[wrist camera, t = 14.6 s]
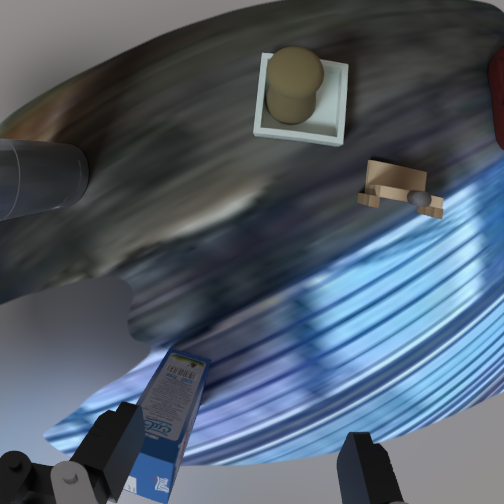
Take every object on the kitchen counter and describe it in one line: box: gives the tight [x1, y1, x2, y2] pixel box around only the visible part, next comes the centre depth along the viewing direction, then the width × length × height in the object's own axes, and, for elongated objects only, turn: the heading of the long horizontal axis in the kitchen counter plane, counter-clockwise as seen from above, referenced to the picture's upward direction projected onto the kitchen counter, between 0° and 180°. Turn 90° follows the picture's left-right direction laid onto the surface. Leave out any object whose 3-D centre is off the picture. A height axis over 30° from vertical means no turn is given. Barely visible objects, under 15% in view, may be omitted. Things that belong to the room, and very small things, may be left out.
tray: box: [253, 53, 348, 147], centre depth 33 cm, size 10×10×3 cm
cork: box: [265, 46, 324, 125], centre depth 28 cm, size 6×6×11 cm
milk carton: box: [123, 348, 211, 504], centre depth 35 cm, size 10×6×20 cm, turn 166°
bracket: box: [357, 160, 443, 219], centre depth 32 cm, size 10×5×9 cm, turn 84°
